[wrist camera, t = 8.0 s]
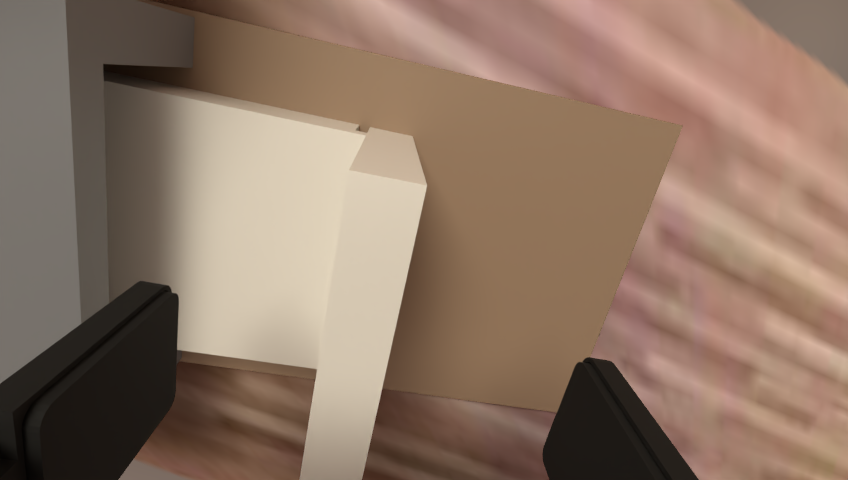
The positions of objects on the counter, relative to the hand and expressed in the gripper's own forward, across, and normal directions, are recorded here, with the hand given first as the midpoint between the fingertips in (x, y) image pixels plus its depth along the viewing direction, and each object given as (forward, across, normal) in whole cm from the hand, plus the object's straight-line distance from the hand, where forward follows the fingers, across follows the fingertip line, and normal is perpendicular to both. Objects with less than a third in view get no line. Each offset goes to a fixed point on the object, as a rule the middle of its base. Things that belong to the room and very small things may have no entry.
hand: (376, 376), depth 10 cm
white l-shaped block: (+8, +8, 0) cm, 11 cm away
